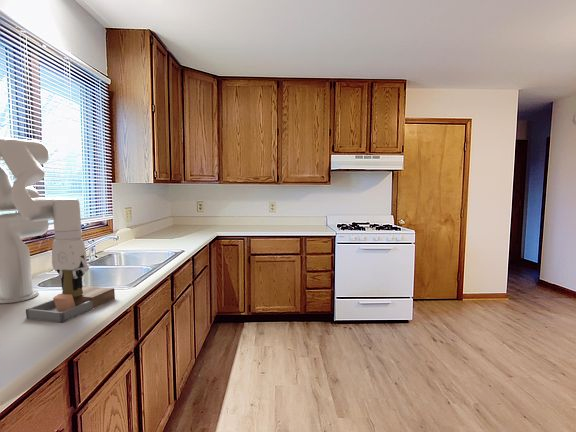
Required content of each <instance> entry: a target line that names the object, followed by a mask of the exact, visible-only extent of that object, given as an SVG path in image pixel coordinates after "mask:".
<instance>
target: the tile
mask: <svg viewBox="0 0 576 432" xmlns="http://www.w3.org/2000/svg"><path fill="white" fill-rule="evenodd" d="M52 300H54V303H55V306H56V308H57V311H62V312H63V311H66V310H68V309H70V308H73V307H75V302H74V299H73V296H72V295H69V294H62V293H58V294H56V295H55V296H54V297H52Z"/></svg>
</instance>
